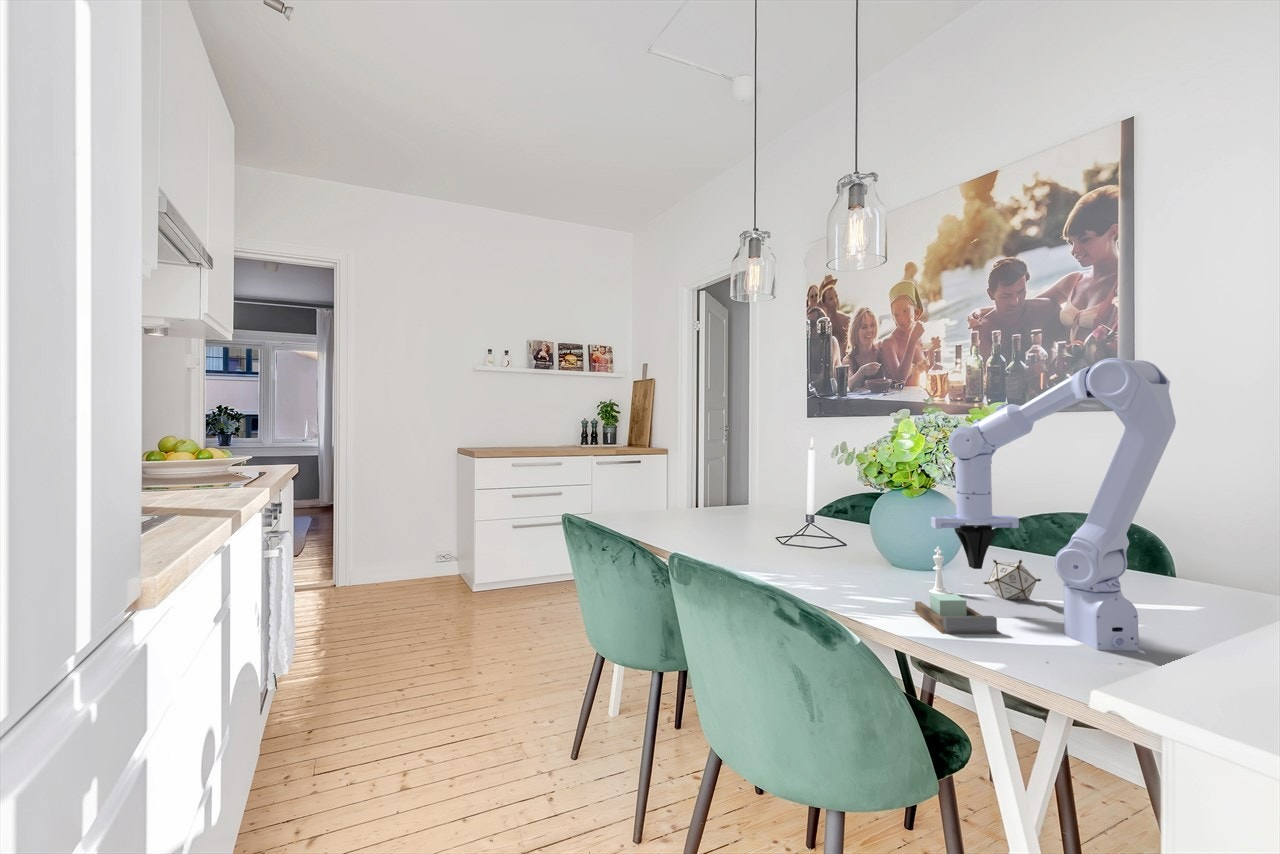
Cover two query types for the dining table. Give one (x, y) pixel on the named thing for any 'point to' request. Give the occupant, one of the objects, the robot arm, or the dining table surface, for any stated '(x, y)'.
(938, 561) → the chess piece
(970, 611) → the chute
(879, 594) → the dining table surface
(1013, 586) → the game die
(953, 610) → the block
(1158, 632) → the dining table surface
